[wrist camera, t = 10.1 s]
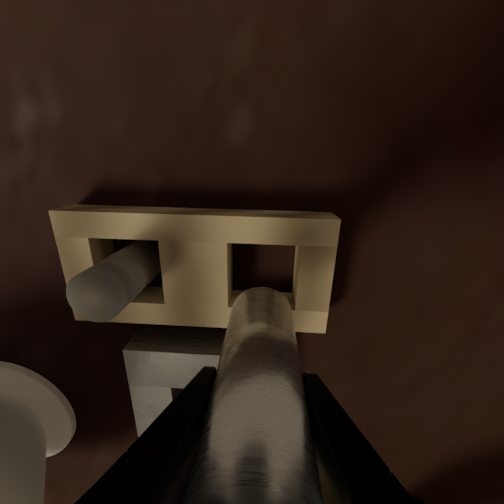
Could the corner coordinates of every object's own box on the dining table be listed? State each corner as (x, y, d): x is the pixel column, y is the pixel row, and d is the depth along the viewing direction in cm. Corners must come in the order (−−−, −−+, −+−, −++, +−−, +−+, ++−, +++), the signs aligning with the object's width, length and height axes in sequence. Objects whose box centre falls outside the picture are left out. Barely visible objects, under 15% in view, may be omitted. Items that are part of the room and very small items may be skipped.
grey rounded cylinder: (294, 288, 12) (339, 497, 4) (289, 340, 13) (320, 585, 5) (231, 285, 12) (172, 482, 5) (231, 337, 13) (183, 570, 6)
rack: (330, 212, 17) (362, 234, 12) (318, 313, 20) (339, 372, 14) (76, 204, 18) (-10, 222, 12) (97, 302, 21) (33, 354, 15)
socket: (272, 332, 21) (274, 379, 16) (265, 462, 26) (264, 526, 21) (141, 325, 21) (107, 368, 17) (160, 454, 26) (138, 514, 22)
